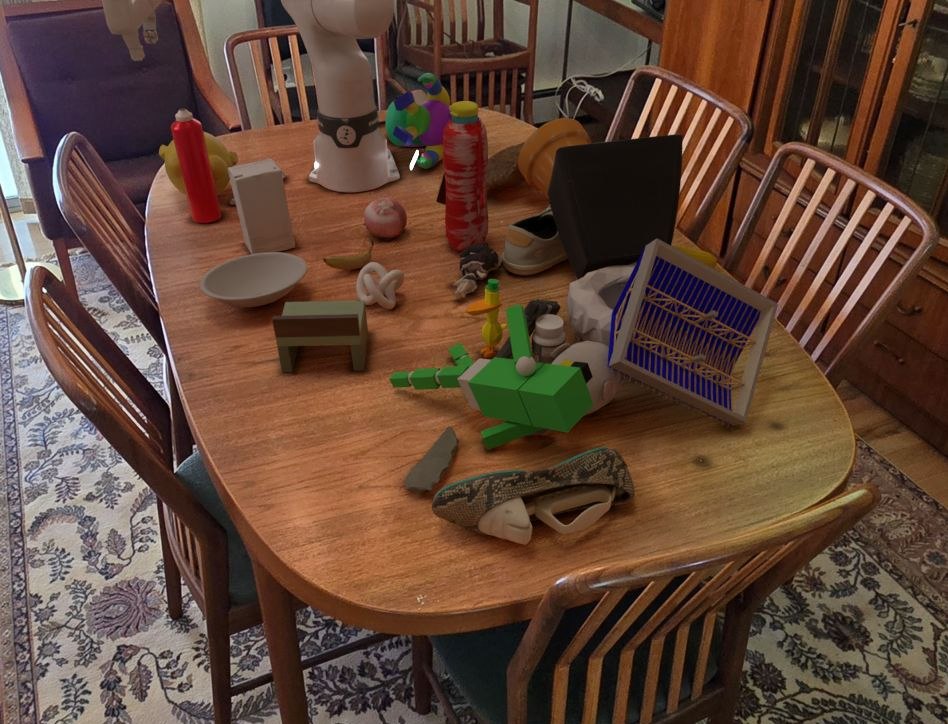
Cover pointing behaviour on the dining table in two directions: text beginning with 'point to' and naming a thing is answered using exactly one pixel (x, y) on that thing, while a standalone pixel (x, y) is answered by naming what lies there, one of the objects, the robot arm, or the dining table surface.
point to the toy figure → (489, 317)
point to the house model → (689, 332)
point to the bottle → (195, 167)
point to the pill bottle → (547, 337)
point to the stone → (433, 463)
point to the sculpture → (217, 157)
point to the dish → (254, 278)
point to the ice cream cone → (419, 96)
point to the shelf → (321, 329)
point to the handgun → (530, 321)
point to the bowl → (596, 302)
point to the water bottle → (465, 177)
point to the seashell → (504, 169)
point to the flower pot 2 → (615, 198)
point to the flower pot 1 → (548, 150)
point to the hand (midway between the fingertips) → (145, 50)
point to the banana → (349, 260)
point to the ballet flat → (538, 496)
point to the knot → (379, 285)
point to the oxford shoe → (533, 245)
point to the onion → (385, 218)
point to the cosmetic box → (262, 206)
